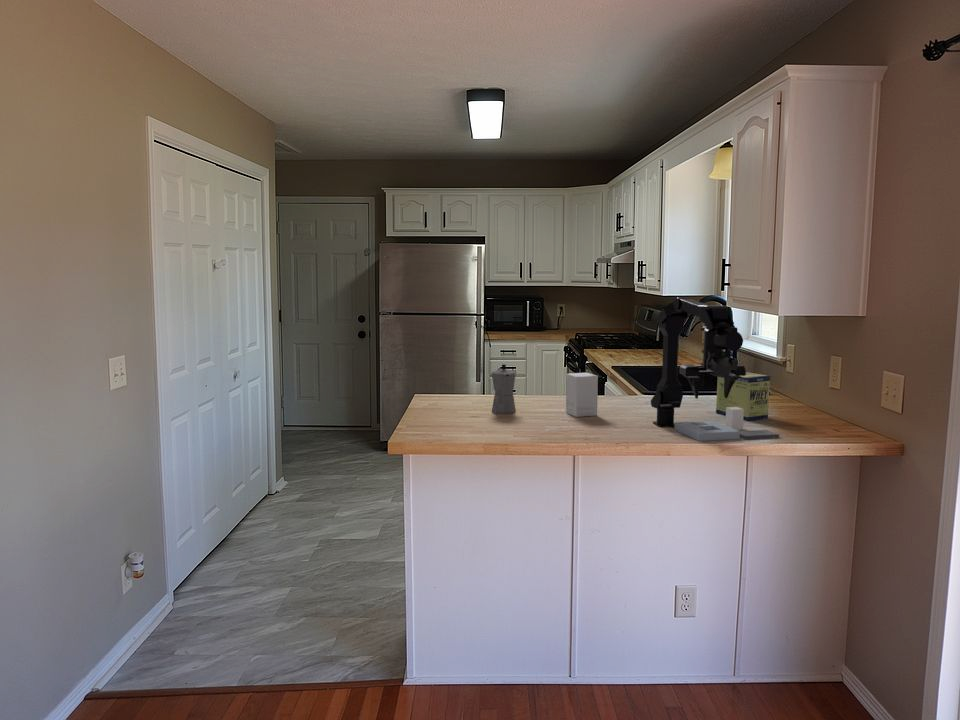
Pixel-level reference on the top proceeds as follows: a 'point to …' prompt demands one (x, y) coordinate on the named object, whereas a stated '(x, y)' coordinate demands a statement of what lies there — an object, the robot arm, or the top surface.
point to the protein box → (745, 396)
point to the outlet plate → (707, 430)
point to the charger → (734, 417)
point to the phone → (757, 434)
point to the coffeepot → (503, 391)
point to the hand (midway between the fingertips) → (711, 398)
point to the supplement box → (581, 394)
